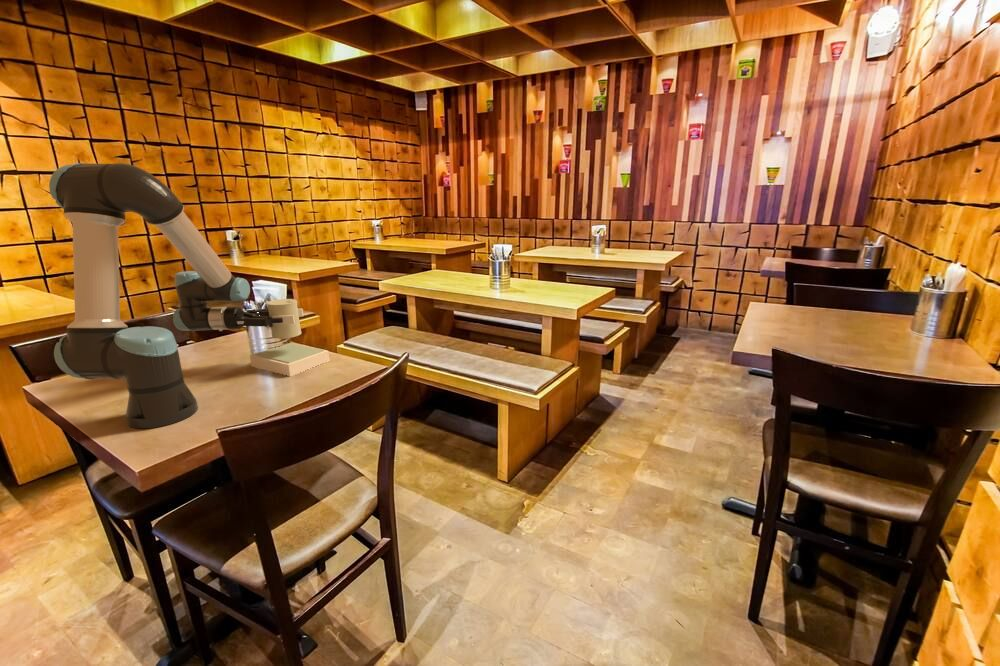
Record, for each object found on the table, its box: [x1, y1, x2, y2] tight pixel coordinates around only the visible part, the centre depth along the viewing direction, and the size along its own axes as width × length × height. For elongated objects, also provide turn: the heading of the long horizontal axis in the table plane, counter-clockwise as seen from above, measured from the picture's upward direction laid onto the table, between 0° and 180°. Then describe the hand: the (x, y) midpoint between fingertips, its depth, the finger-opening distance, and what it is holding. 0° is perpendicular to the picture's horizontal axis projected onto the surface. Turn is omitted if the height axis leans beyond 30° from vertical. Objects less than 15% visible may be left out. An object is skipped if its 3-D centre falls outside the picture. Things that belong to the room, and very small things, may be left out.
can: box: [266, 298, 302, 340], centre depth 151 cm, size 9×9×12 cm
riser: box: [249, 342, 331, 377], centre depth 155 cm, size 20×16×4 cm
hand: (298, 315), depth 152 cm, fingers closed on can, 9 cm apart
